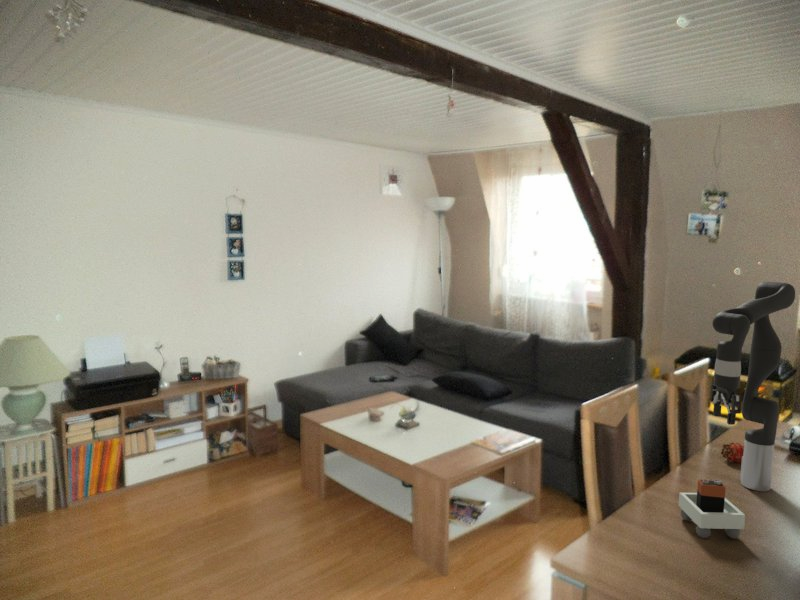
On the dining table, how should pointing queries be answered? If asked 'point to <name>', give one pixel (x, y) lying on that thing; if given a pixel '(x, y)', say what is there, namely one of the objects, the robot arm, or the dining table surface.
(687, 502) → the cart
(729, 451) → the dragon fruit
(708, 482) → the battery
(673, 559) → the dining table surface
